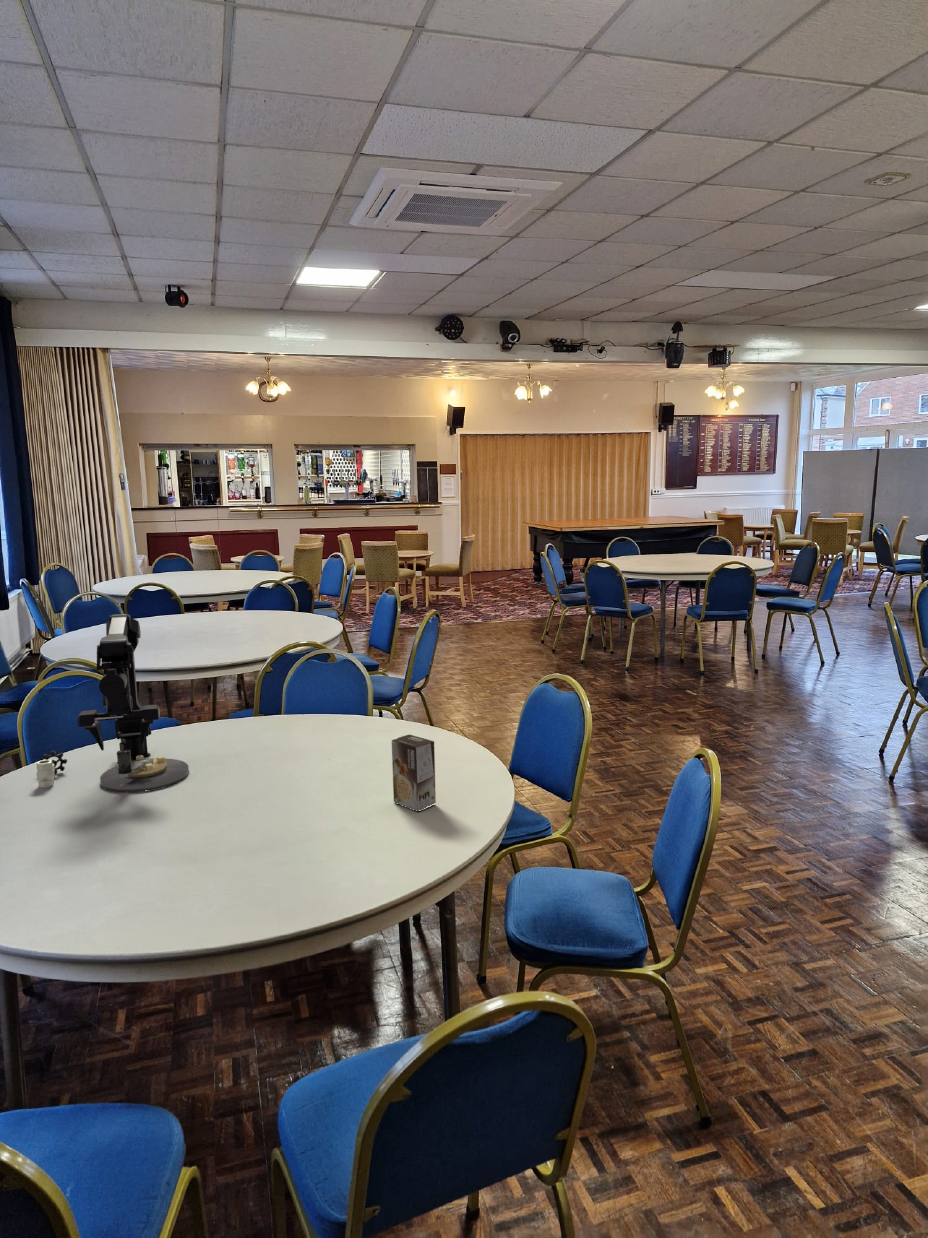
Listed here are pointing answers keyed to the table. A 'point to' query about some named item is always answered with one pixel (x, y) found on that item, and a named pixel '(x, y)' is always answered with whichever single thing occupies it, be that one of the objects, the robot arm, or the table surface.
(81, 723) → the robot arm
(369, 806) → the table surface
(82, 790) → the table surface
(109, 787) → the base plate
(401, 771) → the coffee box
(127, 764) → the cheese board
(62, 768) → the valve
